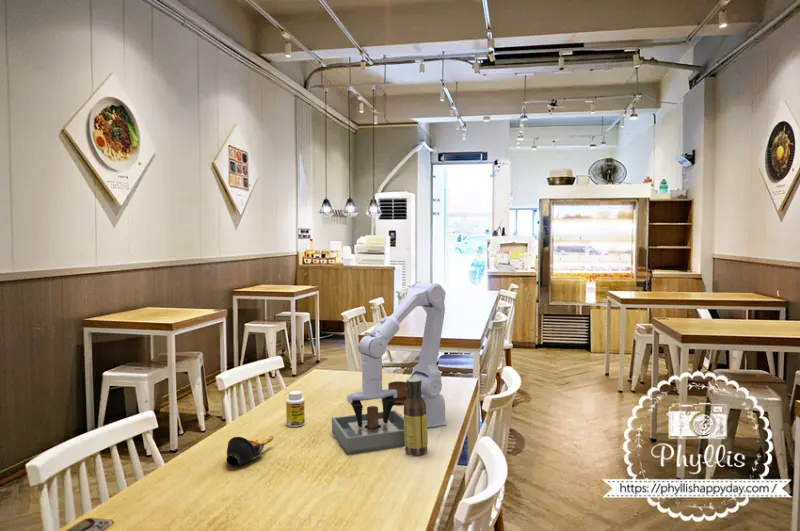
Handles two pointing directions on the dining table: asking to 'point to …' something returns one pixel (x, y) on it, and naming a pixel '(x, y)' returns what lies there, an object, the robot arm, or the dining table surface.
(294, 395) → the supplement bottle
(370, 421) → the peg
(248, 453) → the fried shrimp in bowl
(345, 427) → the open box
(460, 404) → the dining table surface
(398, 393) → the cup and saucer
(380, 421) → the bored plate
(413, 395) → the sauce bottle
